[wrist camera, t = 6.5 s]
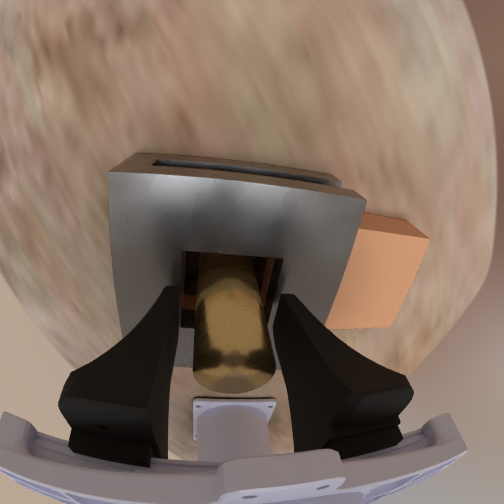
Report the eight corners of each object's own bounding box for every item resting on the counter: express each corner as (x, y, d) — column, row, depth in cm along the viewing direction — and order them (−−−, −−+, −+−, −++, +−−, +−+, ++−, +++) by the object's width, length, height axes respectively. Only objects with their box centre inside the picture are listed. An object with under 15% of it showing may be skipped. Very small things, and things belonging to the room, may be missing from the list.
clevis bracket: (291, 322, 21) (306, 368, 17) (139, 313, 19) (127, 361, 15) (331, 174, 16) (367, 200, 12) (136, 152, 14) (108, 171, 10)
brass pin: (244, 275, 19) (264, 394, 11) (197, 269, 18) (190, 390, 10) (254, 232, 17) (286, 345, 10) (203, 225, 17) (196, 338, 9)
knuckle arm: (374, 302, 21) (390, 326, 19) (165, 293, 19) (159, 322, 16) (406, 220, 18) (430, 239, 16) (167, 189, 15) (157, 207, 13)
